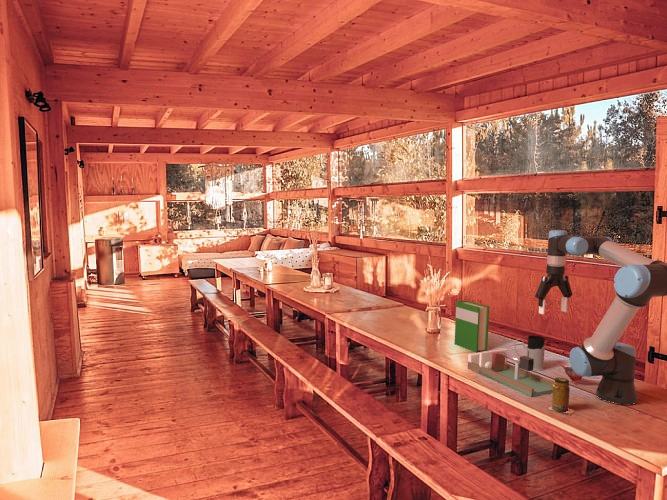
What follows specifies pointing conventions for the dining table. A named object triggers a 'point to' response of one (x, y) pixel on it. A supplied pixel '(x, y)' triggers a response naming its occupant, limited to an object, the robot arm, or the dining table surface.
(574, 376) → the decorative bird figurine
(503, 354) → the foosball rod
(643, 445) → the dining table surface
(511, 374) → the pitch
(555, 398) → the condiment
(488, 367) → the ball
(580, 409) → the dining table surface
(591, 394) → the dining table surface
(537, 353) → the glass holder
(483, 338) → the hardback book
